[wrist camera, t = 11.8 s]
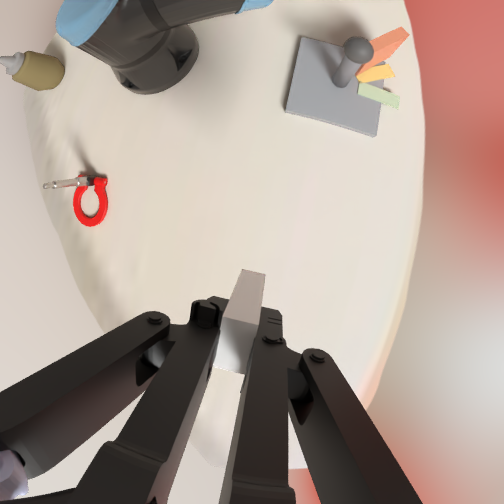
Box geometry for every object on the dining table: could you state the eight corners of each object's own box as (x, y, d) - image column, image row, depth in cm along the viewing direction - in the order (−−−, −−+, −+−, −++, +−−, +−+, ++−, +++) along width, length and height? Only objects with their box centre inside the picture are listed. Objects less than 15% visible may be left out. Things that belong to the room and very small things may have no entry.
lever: (339, 95, 33) (363, 60, 21) (323, 77, 33) (340, 38, 21) (391, 63, 31) (424, 30, 19) (376, 47, 30) (404, 10, 18)
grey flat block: (285, 112, 36) (285, 109, 35) (301, 41, 33) (301, 36, 31) (389, 143, 36) (394, 142, 34) (398, 71, 32) (401, 68, 31)
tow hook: (107, 229, 44) (112, 178, 41) (59, 248, 31) (62, 183, 29) (75, 220, 44) (79, 173, 41) (28, 236, 32) (30, 178, 29)
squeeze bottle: (50, 100, 38) (-9, 86, 20) (41, 83, 37) (-13, 69, 20) (73, 70, 36) (15, 47, 19) (62, 56, 35) (9, 34, 18)
